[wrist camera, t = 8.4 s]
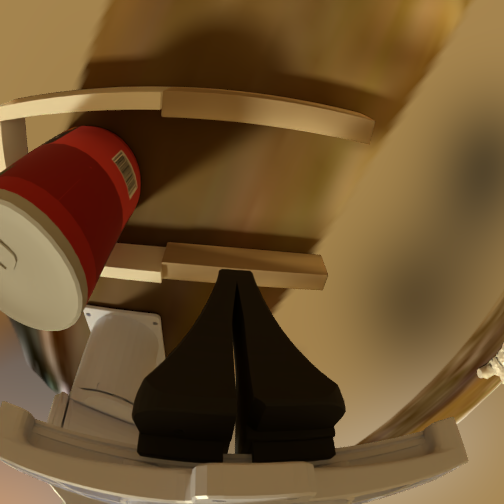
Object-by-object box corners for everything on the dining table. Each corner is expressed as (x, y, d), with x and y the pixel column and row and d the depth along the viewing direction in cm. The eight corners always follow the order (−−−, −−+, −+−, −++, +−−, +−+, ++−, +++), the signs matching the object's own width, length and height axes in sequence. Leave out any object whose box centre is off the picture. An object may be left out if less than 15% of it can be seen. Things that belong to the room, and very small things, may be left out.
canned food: (69, 104, 16) (-45, 165, 7) (164, 156, 19) (105, 257, 10) (39, 191, 20) (-42, 283, 11) (120, 237, 23) (69, 352, 14)
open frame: (168, 257, 24) (161, 282, 21) (37, 245, 22) (22, 266, 20) (172, 86, 16) (160, 92, 14) (14, 99, 15) (-11, 108, 12)
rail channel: (316, 269, 25) (322, 290, 23) (168, 257, 24) (162, 278, 22) (360, 112, 18) (375, 121, 16) (172, 86, 16) (162, 90, 14)
